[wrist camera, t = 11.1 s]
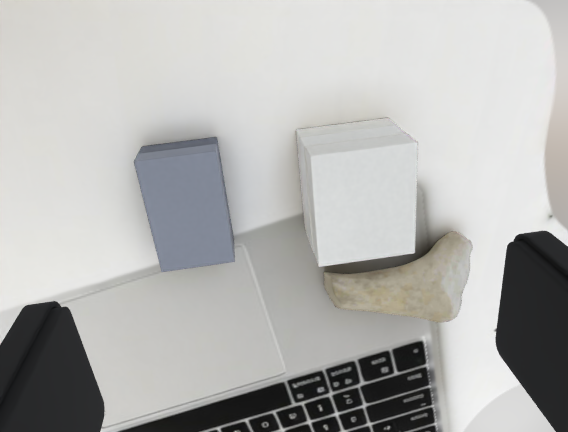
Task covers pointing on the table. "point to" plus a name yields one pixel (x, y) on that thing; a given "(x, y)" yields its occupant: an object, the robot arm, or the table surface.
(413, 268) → the stone
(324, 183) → the white book
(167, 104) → the table surface
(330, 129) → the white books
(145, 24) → the table surface
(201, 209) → the grey-blue block
